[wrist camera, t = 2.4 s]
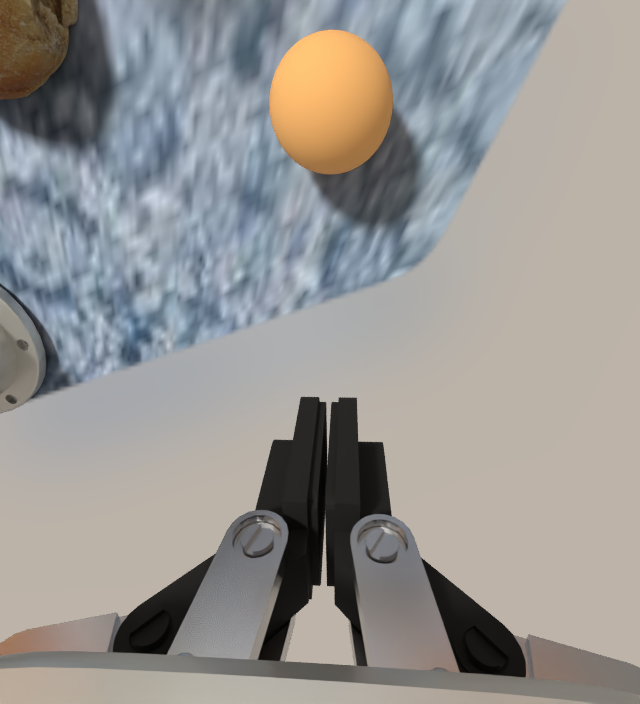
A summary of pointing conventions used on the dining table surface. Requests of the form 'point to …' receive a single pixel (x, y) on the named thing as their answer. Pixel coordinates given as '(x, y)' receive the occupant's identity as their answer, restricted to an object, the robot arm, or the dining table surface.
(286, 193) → the dining table surface
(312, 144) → the ball
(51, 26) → the bread roll
